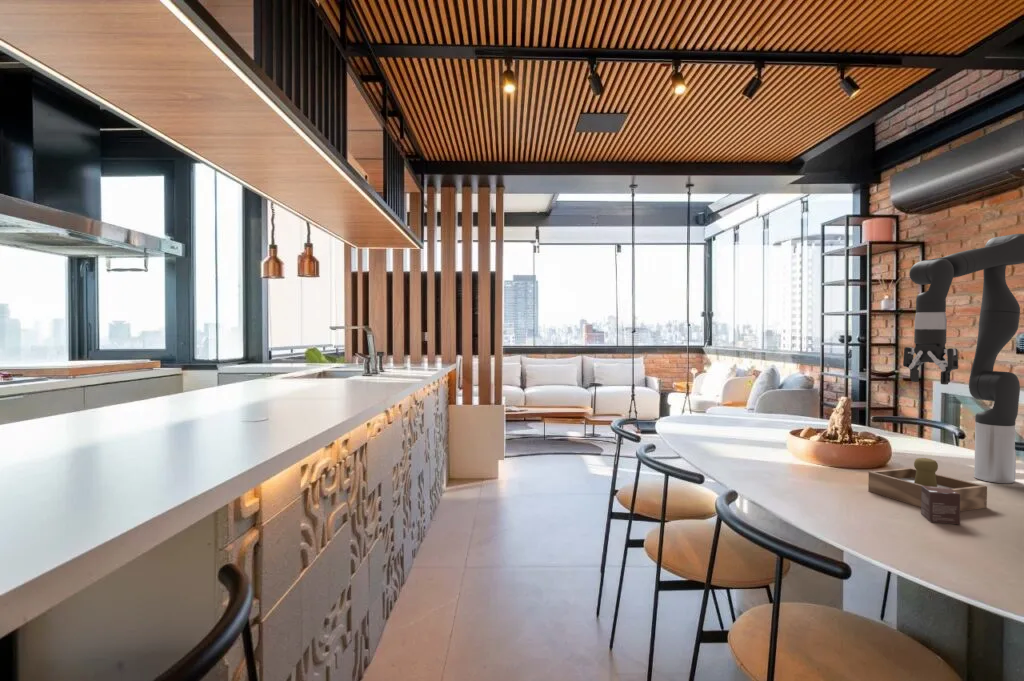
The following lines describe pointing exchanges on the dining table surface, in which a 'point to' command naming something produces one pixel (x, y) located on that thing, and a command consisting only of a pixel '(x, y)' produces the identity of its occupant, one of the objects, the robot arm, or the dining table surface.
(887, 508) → the dining table surface
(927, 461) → the cork
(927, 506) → the box
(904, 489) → the wooden tray
